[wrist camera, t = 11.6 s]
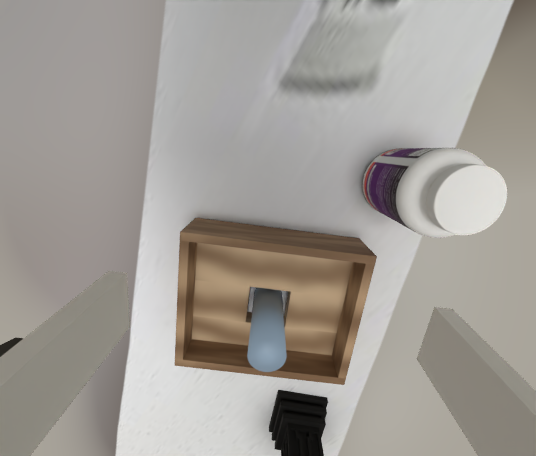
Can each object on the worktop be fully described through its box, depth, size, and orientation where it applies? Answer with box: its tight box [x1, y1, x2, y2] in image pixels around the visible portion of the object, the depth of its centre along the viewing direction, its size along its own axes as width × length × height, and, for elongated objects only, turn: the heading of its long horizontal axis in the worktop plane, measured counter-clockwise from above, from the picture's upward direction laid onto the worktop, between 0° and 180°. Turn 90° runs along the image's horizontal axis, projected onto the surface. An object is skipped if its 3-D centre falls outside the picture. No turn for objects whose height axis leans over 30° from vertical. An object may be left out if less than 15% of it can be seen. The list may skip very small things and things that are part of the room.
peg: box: [247, 287, 287, 372], centre depth 34 cm, size 4×4×12 cm
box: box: [175, 218, 377, 385], centre depth 36 cm, size 18×22×6 cm
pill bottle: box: [363, 148, 507, 238], centre depth 28 cm, size 8×8×14 cm
